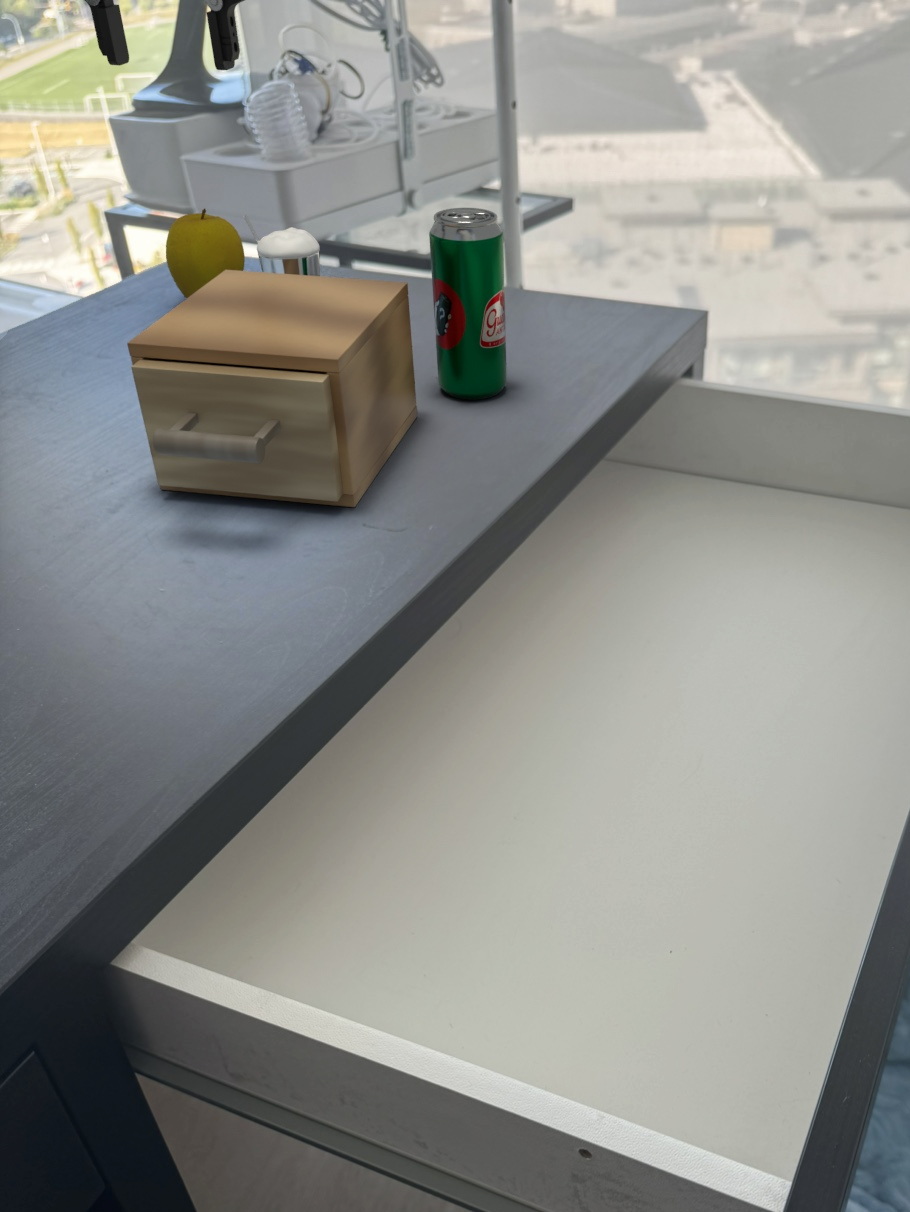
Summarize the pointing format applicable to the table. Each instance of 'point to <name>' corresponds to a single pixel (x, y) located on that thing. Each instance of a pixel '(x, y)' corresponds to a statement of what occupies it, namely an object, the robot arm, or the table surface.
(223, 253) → the apple
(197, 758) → the table surface
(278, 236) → the milkshake
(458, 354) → the soda can
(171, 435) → the drawer
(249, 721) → the table surface
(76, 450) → the table surface
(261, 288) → the cabinet
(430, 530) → the table surface
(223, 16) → the robot arm
